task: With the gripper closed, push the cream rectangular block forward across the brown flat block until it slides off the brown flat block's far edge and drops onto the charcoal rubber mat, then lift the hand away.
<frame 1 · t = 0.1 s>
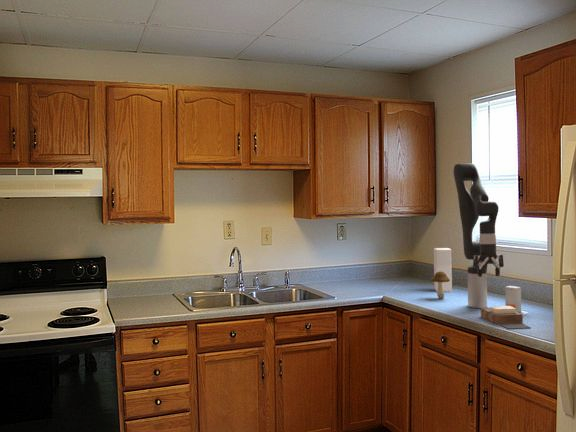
hand: (488, 276, 266), 17 cm above the worktop, tool pointing down, fingers open, 8 cm apart
mat: (514, 326, 238), on the worktop
mushroom: (440, 298, 304), on the worktop
tall white carton: (442, 290, 328), on the worktop
brown flat block: (501, 319, 250), on the worktop
skincare box: (513, 311, 267), on the worktop
cream rectangular block: (503, 311, 248), point 4 cm above the worktop, touching brown flat block
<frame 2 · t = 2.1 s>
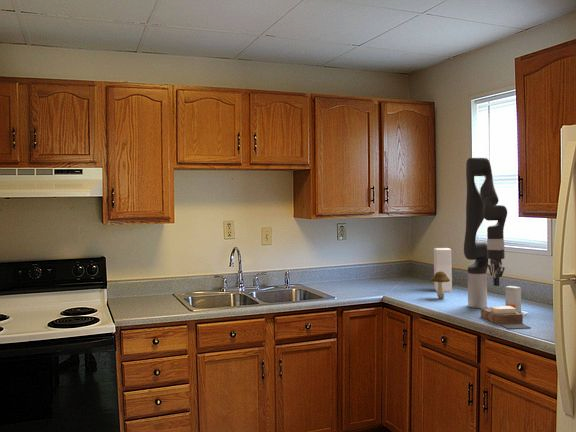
hand: (496, 285, 255), 15 cm above the worktop, tool pointing down, fingers closed
nothing on the worktop moved.
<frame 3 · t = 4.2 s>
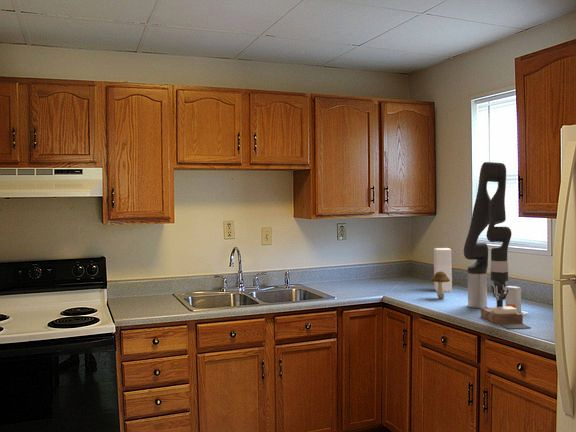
hand: (499, 308, 251), 5 cm above the worktop, tool pointing down, fingers closed
cream rectangular block: (504, 312, 247), point 4 cm above the worktop, touching brown flat block, gripper
everything else where it was.
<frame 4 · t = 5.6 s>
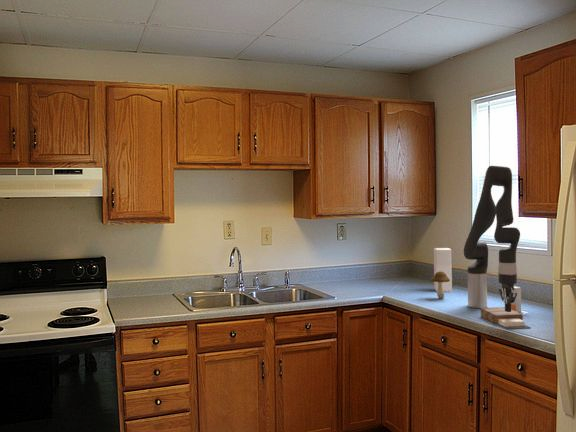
hand: (508, 311, 243), 5 cm above the worktop, tool pointing down, fingers closed
cream rectangular block: (511, 324, 239), resting on mat
everything else where it was.
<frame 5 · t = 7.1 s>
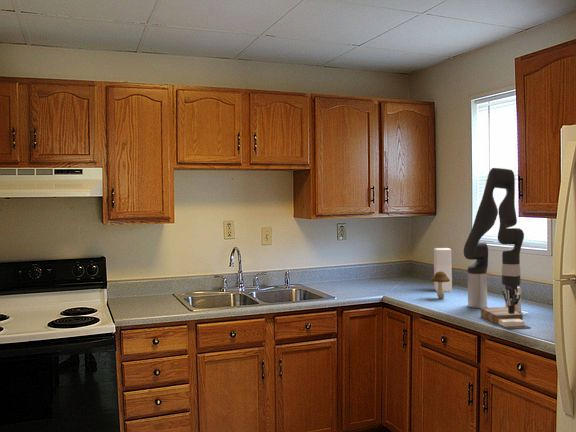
hand: (511, 313, 240), 5 cm above the worktop, tool pointing down, fingers closed
nothing on the worktop moved.
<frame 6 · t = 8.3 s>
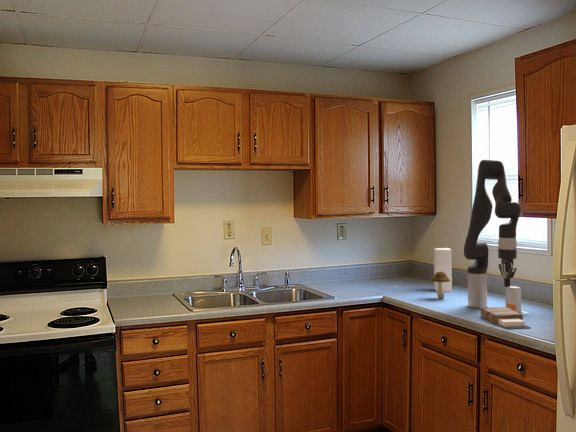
hand: (507, 286, 243), 16 cm above the worktop, tool pointing down, fingers closed
nothing on the worktop moved.
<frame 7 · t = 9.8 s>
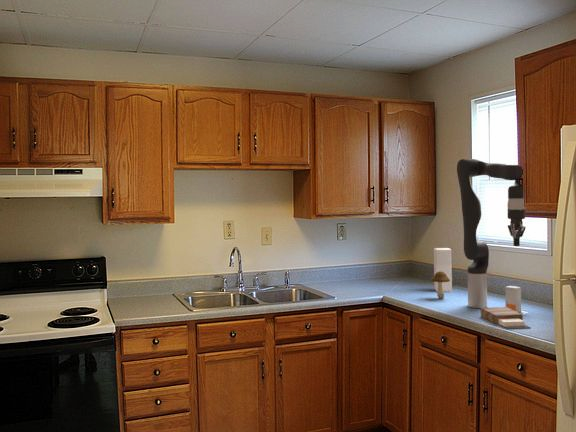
hand: (516, 246, 254), 33 cm above the worktop, tool pointing down, fingers closed
nothing on the worktop moved.
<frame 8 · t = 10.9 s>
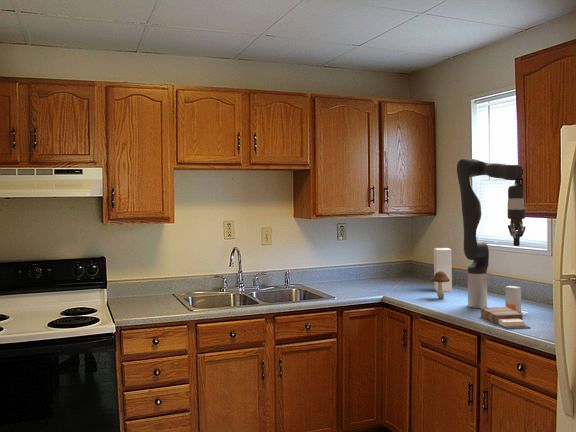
hand: (516, 245, 254), 33 cm above the worktop, tool pointing down, fingers closed
nothing on the worktop moved.
at the end: cream rectangular block resting on mat; cream rectangular block inside the target area on the mat (1.7 cm from its centre), point 0.4 cm above the mat's base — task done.
